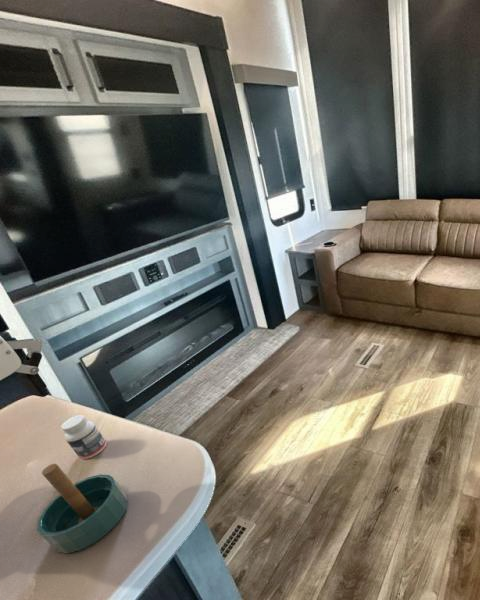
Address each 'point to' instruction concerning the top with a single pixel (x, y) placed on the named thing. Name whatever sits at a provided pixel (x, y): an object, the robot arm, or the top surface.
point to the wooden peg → (68, 491)
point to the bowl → (64, 520)
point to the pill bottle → (83, 437)
